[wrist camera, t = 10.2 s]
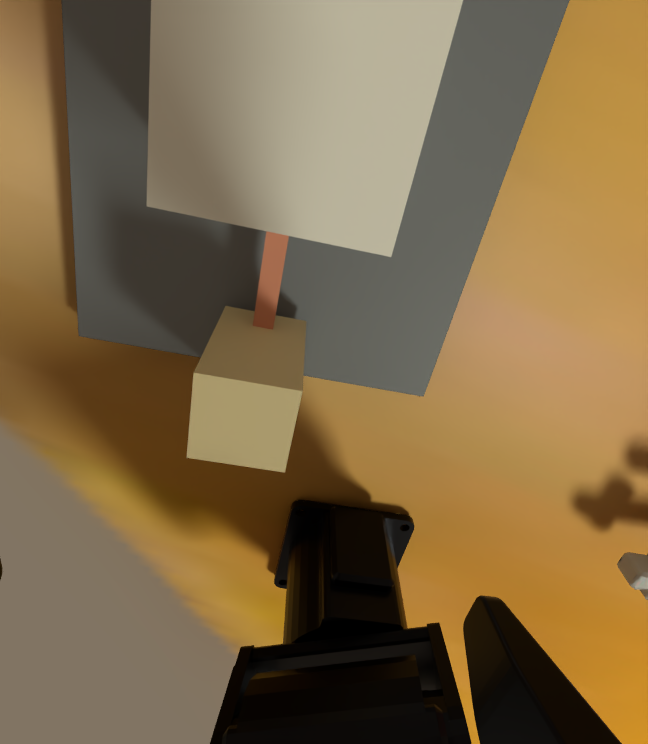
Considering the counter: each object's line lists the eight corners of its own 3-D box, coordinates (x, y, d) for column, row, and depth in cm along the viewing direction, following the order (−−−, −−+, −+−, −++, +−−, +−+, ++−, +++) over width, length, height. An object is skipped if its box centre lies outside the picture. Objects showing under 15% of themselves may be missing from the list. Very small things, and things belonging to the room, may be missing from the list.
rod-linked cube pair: (328, 388, 19) (332, 479, 15) (182, 363, 19) (135, 450, 14) (425, 3, 13) (486, -61, 8) (211, -55, 12) (145, -160, 8)
